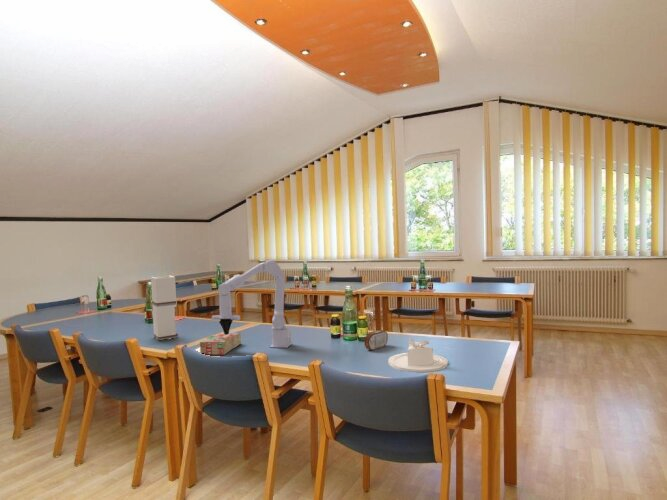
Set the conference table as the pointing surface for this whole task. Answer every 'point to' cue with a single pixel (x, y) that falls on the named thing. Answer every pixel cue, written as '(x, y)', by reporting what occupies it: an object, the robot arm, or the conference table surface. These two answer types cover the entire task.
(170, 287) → the white mini fridge
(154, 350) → the conference table surface
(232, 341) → the printed cardboard box
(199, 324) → the conference table surface
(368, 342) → the slice of bread
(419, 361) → the dish
